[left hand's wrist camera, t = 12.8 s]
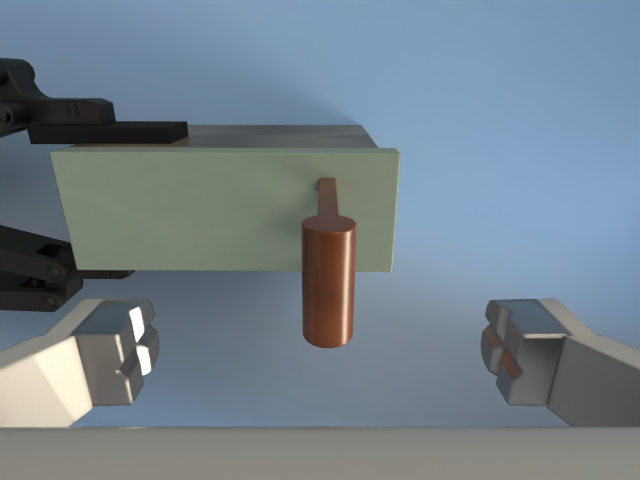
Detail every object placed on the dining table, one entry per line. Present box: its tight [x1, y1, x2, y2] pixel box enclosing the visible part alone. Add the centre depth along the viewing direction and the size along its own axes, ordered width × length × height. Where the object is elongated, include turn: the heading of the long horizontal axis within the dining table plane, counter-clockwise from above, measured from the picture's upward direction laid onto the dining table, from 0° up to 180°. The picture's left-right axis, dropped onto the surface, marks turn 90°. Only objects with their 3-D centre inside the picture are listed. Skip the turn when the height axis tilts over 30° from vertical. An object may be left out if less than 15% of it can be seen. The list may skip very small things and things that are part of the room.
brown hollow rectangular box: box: [70, 125, 378, 148], centre depth 23 cm, size 14×6×9 cm, turn 90°
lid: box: [49, 147, 400, 348], centre depth 15 cm, size 15×5×8 cm, turn 90°
